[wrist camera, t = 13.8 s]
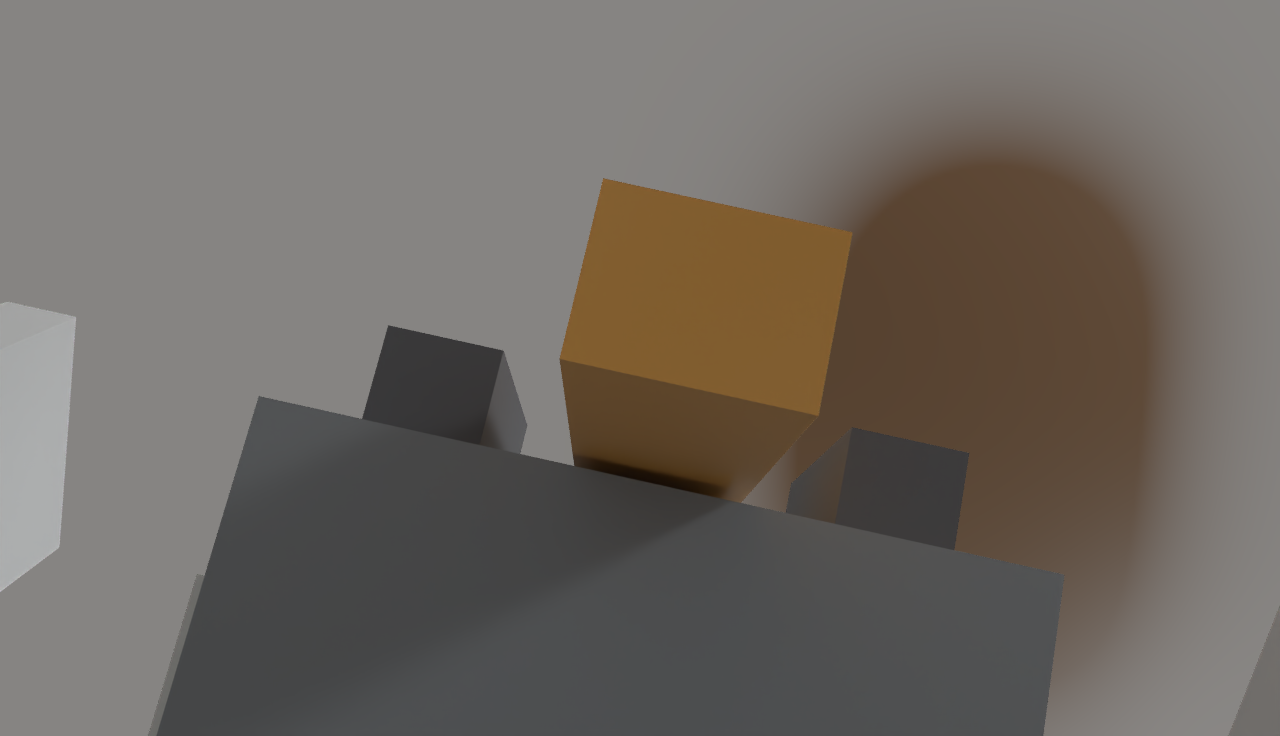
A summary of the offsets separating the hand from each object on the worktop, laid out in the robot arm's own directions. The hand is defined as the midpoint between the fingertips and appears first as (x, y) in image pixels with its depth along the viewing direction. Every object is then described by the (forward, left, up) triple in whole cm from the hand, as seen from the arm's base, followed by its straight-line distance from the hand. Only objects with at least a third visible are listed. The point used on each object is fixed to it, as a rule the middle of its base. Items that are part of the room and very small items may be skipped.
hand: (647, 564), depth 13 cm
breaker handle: (0, -14, +3) cm, 14 cm away
